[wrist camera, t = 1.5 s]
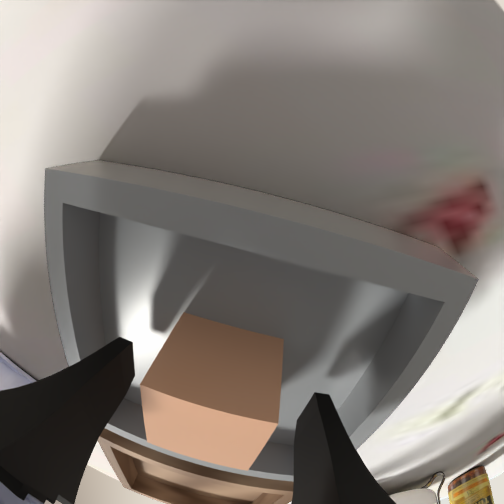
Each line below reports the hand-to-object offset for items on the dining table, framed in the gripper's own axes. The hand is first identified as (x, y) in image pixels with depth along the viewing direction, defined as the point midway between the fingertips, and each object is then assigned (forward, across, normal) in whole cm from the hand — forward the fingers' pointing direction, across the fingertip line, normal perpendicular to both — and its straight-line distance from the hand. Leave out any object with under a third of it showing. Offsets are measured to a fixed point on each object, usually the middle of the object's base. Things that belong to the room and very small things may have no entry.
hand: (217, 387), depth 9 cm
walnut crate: (+2, 0, +16) cm, 16 cm away
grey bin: (+2, 0, 0) cm, 2 cm away
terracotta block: (+2, 0, 0) cm, 2 cm away
